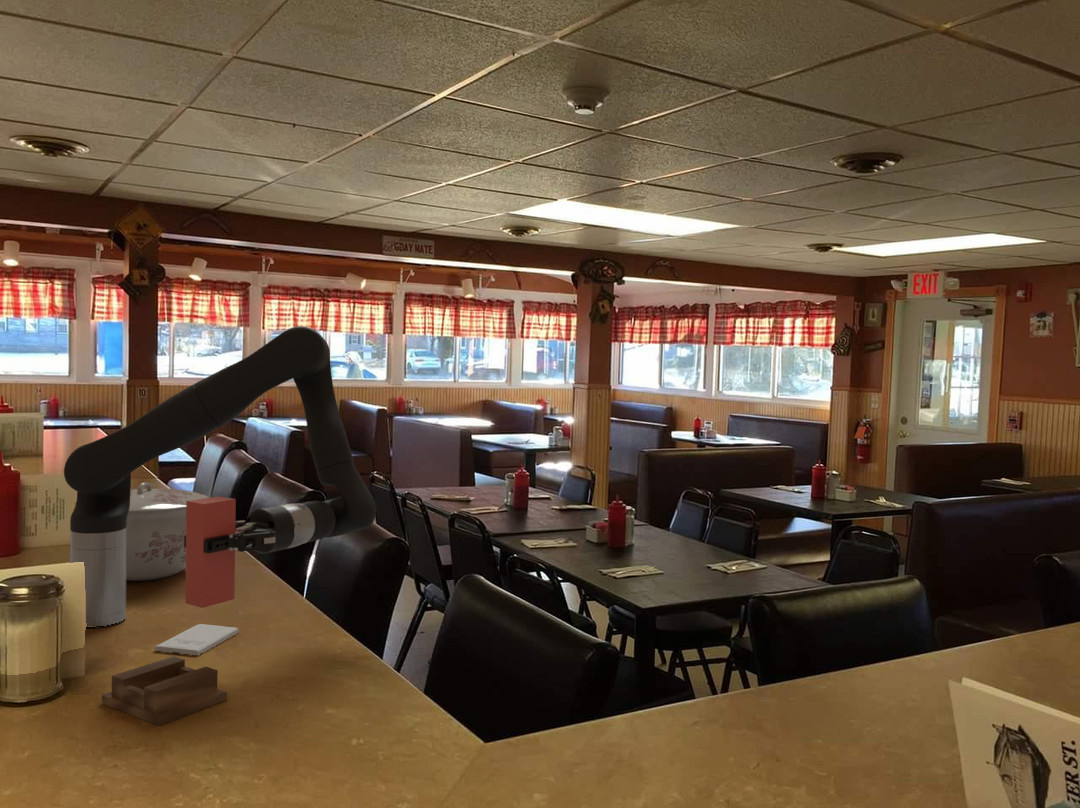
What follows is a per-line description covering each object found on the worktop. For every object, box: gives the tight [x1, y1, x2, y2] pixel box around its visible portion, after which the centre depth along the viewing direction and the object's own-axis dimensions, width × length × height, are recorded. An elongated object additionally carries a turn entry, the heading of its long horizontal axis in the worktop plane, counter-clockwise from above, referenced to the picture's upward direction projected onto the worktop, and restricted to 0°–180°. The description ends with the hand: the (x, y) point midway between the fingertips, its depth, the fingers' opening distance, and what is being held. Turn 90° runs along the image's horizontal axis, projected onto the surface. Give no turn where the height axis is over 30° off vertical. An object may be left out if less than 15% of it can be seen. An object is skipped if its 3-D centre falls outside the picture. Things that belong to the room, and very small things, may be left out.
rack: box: [101, 656, 228, 727], centre depth 125 cm, size 13×11×4 cm
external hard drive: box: [153, 623, 239, 656], centre depth 151 cm, size 2×8×12 cm
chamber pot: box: [74, 481, 210, 582], centre depth 194 cm, size 28×28×21 cm
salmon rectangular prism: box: [184, 495, 237, 609], centre depth 136 cm, size 4×6×16 cm, turn 149°
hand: (195, 544), depth 133 cm, fingers closed on salmon rectangular prism, 4 cm apart
